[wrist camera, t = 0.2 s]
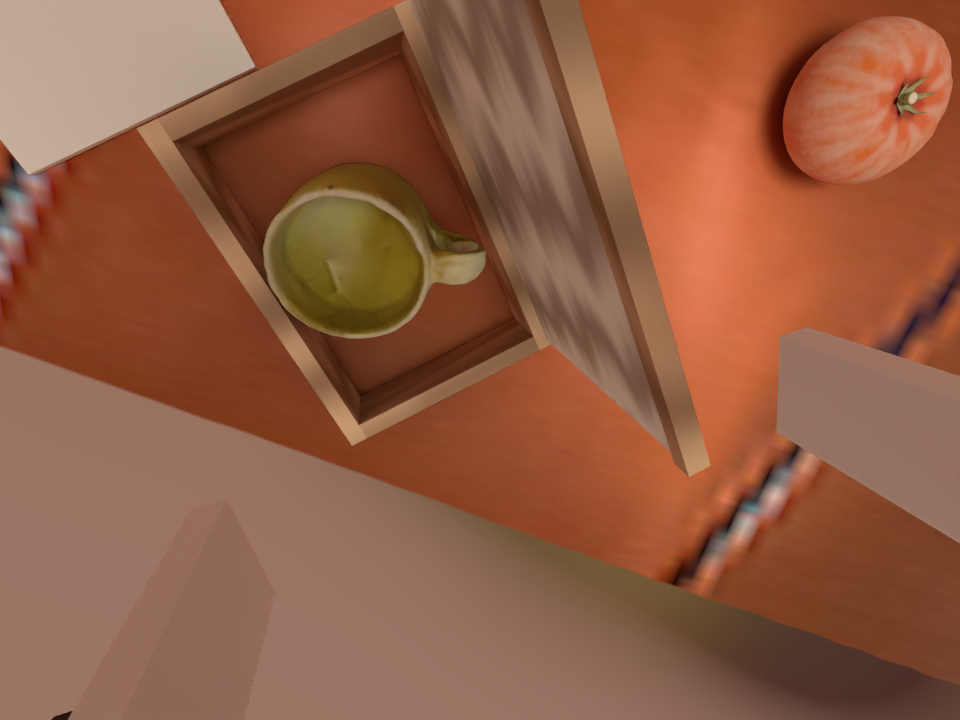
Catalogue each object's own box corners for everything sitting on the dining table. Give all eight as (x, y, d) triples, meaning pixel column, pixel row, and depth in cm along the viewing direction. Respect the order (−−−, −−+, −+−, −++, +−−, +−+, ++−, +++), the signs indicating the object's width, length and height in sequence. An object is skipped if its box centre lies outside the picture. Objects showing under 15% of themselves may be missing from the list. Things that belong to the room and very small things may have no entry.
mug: (282, 298, 34) (249, 340, 25) (294, 148, 31) (261, 133, 22) (447, 322, 38) (470, 367, 28) (472, 188, 34) (508, 190, 25)
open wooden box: (173, 137, 30) (-242, 40, 10) (414, 21, 30) (494, -296, 10) (354, 414, 39) (334, 662, 19) (538, 321, 39) (710, 465, 19)
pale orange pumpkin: (733, 157, 38) (820, 151, 31) (801, 8, 35) (914, -39, 28) (828, 203, 41) (927, 207, 34) (898, 69, 38) (1022, 42, 31)
